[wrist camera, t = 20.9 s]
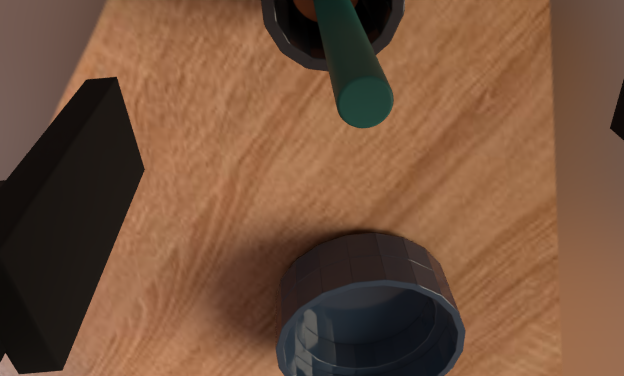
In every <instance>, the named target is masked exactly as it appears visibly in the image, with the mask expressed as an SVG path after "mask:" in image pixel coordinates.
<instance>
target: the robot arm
mask: <svg viewBox="0 0 624 376" xmlns="http://www.w3.org/2000/svg"><path fill="white" fill-rule="evenodd" d="M610 129H612V130H613V131H614V132H615V133H616V134H617V135H618V136H619V137H621V138H622V139H623V140H624V80H623V84H622V88H621V91H620V94H619V98H618V102H617V105H616V109H615V112H614V116H613V119H612V123H611V127H610ZM144 170H145V169H144V166H143V162H142V159H141V156H140V152H139V149H138V146H137V142H136V139H135V136H134V132H133V129H132V126H131V123H130V119H129V116H128V113H127V109H126V106H125V103H124V99H123V96H122V93H121V89H120V86H119V83H118V79H117V77H110V78H99V79H88V80H86V81H85V82H84V83H83V84H82V86H81V87H80V88H79V89H78V91H77V92H76V93H75V94H74V96H73V97H72V98H71V100H70V101H69V102H68V103H67V105H66V106H65V107H64V108H63V110H62V111H61V112H60V113H59V115H58V116H57V117H56V118H55V120H54V121H53V122H52V123H51V125H50V126H49V127H48V128H47V130H46V131H45V132H44V133H43V135H42V136H41V137H40V138H39V140H38V141H37V142H36V143H35V145H34V146H33V147H32V148H31V150H30V151H29V152H28V153H27V155H26V156H25V157H24V158H23V160H22V161H21V162H20V163H19V165H18V166H17V167H16V168H15V170H14V171H13V172H12V173H11V175H10V176H9V177H8V178H7V180H5V181H4V180H3V181H0V362H1V360H2V358H3V356H4V354H5V353H6V354H7V356H8V358H9V359H10V361H11V362H12V364H13V366H14V367H15V369H16V370H17V372H18V373H19V374H28V373H39V372H51V371H62V370H63V368H64V365H65V363H66V361H67V358H68V356H69V353H70V351H71V348H72V346H73V343H74V341H75V339H76V336H77V334H78V331H79V329H80V326H81V324H82V321H83V319H84V317H85V314H86V312H87V309H88V307H89V304H90V302H91V299H92V297H93V295H94V292H95V290H96V287H97V285H98V282H99V280H100V277H101V275H102V273H103V270H104V268H105V265H106V263H107V260H108V258H109V255H110V253H111V251H112V248H113V246H114V243H115V241H116V238H117V236H118V233H119V231H120V229H121V226H122V224H123V221H124V219H125V216H126V214H127V211H128V209H129V207H130V204H131V202H132V199H133V197H134V194H135V192H136V190H137V187H138V185H139V182H140V180H141V177H142V175H143V172H144Z"/></svg>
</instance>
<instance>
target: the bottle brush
mask: <svg viewBox="0 0 624 376" xmlns="http://www.w3.org/2000/svg"><path fill="white" fill-rule="evenodd" d="M293 1H294V4H295V5H296V7H297V9H298V10H299V11H300V12H301V13H302V14H303V15H304V16H305V17H307V18H308V19H310V20H312V21H315V22H318V25H319V30H320V34H321V39H322V43H323V48H324V52H325V57H326V61H327V66H328V70H329V75H330V79H331V84H332V88H333V93H334V97H335V102H336V106H337V110H338V113H339V115H340V117H341V118H342V119H343V120H344V121H345V122H346V123H347V124H349V125H351V126H354V127H357V128H370V127H373V126H376V125H378V124H379V123H381V122H382V121H383V120H385V119H386V117H387V116H388V115H389V113H390V111H391V109H392V107H393V101H394V98H393V92H392V90H391V87H390V85H389V83H388V81H387V79H386V77H385V74H384V72H383V70H382V68H381V66H380V64H379V61H378V59H377V57H376V55H375V53H374V50H373V48H372V46H371V44H370V42H369V40H368V37H367V35H366V33H365V31H364V29H363V27H362V24H361V22H360V20H359V18H358V16H357V14H356V11H355V9H354V8H355V7H356V5H357V3H358V1H359V0H293Z"/></svg>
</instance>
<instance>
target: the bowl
mask: <svg viewBox="0 0 624 376" xmlns="http://www.w3.org/2000/svg"><path fill="white" fill-rule="evenodd" d="M464 338H465V328H464V325H463V322H462V319H461V317H460V314H459V311H458V308H457V306H456V303H455V301H454V298H453V296H452V293H451V290H450V288H449V285H448V283H447V280H446V277H445V275H444V272H443V270H442V267H441V265H440V263H439V262H438V261H437V260H436V259H435V258H434V257H433V256H432V255H431V254H430V253H429V252H428V251H427V250H426V249H425V248H424V247H422V246H420V245H417V244H415V243H413V242H411V241H409V240H407V239H405V238H403V237H398V236H392V235H386V234H379V233H366V234H355V235H346V236H342V237H339V238H336V239H333V240H330V241H328V242H325V243H322V244H319V245H318V246H316V247H314V248H313V249H311V250H310V251H309V252H307V253H306V254H304V255H303V256H301V257H300V258H298V259H297V260H296V261H295V262H294V263H293V264H292V266H291V267H290V268H289V270H288V271H287V272H286V273H285V275H284V276H283V277H282V279H281V282H280V285H279V289H278V292H277V296H276V354H277V360H278V366H279V369H280V370H281V372H282V373H283V374H284V376H445V375H446V374H447V373H448V372H449V371H450V370H451V369H452V368H453V366H454V365H455V363H456V361H457V360H458V358H459V356H460V355H461V353H462V351H463V346H464Z"/></svg>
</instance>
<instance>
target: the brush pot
mask: <svg viewBox="0 0 624 376" xmlns="http://www.w3.org/2000/svg"><path fill="white" fill-rule="evenodd" d="M261 4H262V12H263V20H264V25H265V27H266V29H267V31H268V32H269V34H270V35H271V37H272V39H273V40H274V42H275V43H276V45H277V47H278V48H279V50H280V51H281V52H282V53H283V54H284V55H286V56H288V57H289V58H291V59H292V60H294V61H295V62H297V63H299V64H300V65H302V66H303V67H305V68H308V69H313V70H321V71H329V70H328V66H327V61H326V57H325V52H324V48H323V43H322V39H321V34H320V30H319V25H318V22H315V21H312V20H310V19H308V18H307V17H305V16H304V15H303V14H302V13H301V12H300V11H299V10H298V9H297V7H296V5H295V4H294V1H293V0H261ZM354 9H355V11H356V14H357V16H358V18H359V20H360V22H361V24H362V27H363V29H364V31H365V33H366V35H367V37H368V40H369V42H370V44H371V46H372V48H373V50H374V53H375V55H377V54H378V53H379V52H380V51H381V50H382V49H383V48H385V47H386V46H387V45H388V44H389V43H390V42H391V40H392V38H393V36H394V34H395V32H396V29H397V27H398V25H399V23H400V21H401V19H402V17H403V15H404V11H405V0H359V1H358V3H357V5H356V7H355V8H354Z"/></svg>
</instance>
